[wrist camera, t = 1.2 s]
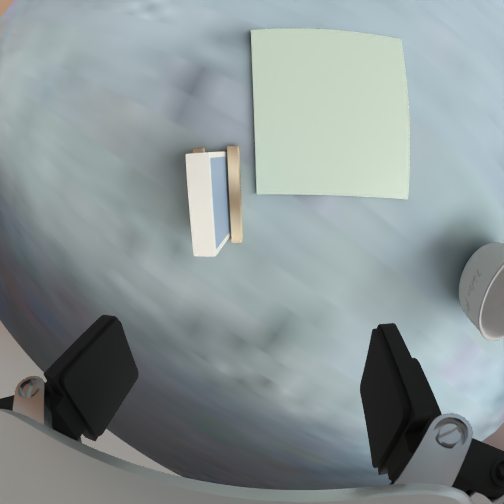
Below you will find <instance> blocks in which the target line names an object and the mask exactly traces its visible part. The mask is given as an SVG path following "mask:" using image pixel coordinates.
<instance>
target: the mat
mask: <svg viewBox="0 0 504 504" xmlns="http://www.w3.org/2000/svg"><path fill="white" fill-rule="evenodd" d="M251 46H252V72H253V99H254V127H255V157H256V189H257V194H304V195H341V196H364V197H382V198H397V199H408V189H409V167H410V124H409V103H408V89H407V79H406V70H405V62H404V54H403V48H402V41H401V39H397V38H392V37H387V36H381V35H375V34H368V33H360V32H352V31H342V30H329V29H305V28H285V29H260V30H251Z"/></svg>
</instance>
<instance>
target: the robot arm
mask: <svg viewBox="0 0 504 504" xmlns="http://www.w3.org/2000/svg"><path fill="white" fill-rule="evenodd" d="M44 376H45V377H46V379H47V382H46V383H45V382H44V381H43V379H42V378H40V377H38V376H30V377H27V378H25V379H23V380H22V381H21V382H20V383H19V384H18V385H17V387H16V390H15V395H13V396H10V397H5V398H2V399H0V504H504V451H502V450H500V449H497V448H495V447H492V446H490V445H488V444H485V443H482V442H480V441H478V440H476V439H473V438H472V435H473V431H472V427H471V425H470V423H469V422H468V421H467V420H466V419H465V418H464V417H462V416H460V415H458V414H453V413H449V414H443V415H442V414H441V411H440V409H439V406H438V404H437V402H436V399H435V397H434V394H433V392H432V390H431V388H430V385H429V383H428V381H427V379H426V376H425V374H424V372H423V370H422V368H421V365H420V363H419V362H418V360H417V359H416V358H412V357H411V355H410V353H409V351H408V349H407V347H406V345H405V342H404V340H403V338H402V336H401V334H400V332H399V330H398V328H397V326H396V325H395V324H394V323H391V324H379V325H378V327H377V329H373V330H372V335H371V340H370V345H369V350H368V354H367V359H366V363H365V368H364V372H363V376H362V380H361V384H360V393H361V398H362V404H363V409H364V414H365V420H366V426H367V432H368V438H369V444H370V451H371V458H372V465H373V467H374V468H377V467H378V472H379V475H381V474H387V473H388V476H389V479H390V480H391V482H390V484H389V485H382V486H372V487H360V488H349V489H335V490H270V489H256V488H245V487H236V486H229V485H222V484H215V483H209V482H204V481H198V480H193V479H189V478H184V477H179V476H175V475H171V474H167V473H164V472H160V471H156V470H153V469H149V468H146V467H143V466H140V465H136V464H133V463H130V462H127V461H125V460H122V459H119V458H116V457H114V456H111V455H108V454H106V453H103V452H100V451H98V450H96V449H94V448H91V447H89V446H87V445H84V444H82V442H81V437H80V436H81V435H82V434H83V435H84V436H85V437H86V438H88V439H91V440H93V441H96V439H97V438H98V436H100V435H102V434H103V432H104V431H105V429H106V428H107V426H108V424H109V423H110V421H111V419H112V418H113V416H114V415H115V413H116V411H117V410H118V408H119V407H120V405H121V404H122V402H123V400H124V399H125V397H126V396H127V394H128V393H129V391H130V389H131V388H132V386H133V385H134V383H135V382H136V380H137V378H138V369H137V367H136V364H135V361H134V359H133V356H132V353H131V351H130V348H129V345H128V342H127V339H126V336H125V333H124V330H123V327H122V324H121V322H120V321H119V320H118V319H117V317H115V316H109V315H102V316H101V317H100V318H99V319H98V320H96V321H95V322H94V323H93V324H92V325H91V326H90V327H89V328H88V329H87V330H86V331H85V332H84V333H83V334H82V335H81V336H80V337H79V338H78V339H77V340H76V341H75V342H74V343H73V344H72V345H71V346H70V347H69V348H68V349H67V350H66V351H65V352H64V353H63V354H62V355H61V356H60V357H59V358H58V359H57V360H56V361H55V362H54V364H53V365H52V366H51V367H50V368H49V369H48V370H47V371H46V372H45V373H44Z"/></svg>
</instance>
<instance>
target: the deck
mask: <svg viewBox="0 0 504 504" xmlns="http://www.w3.org/2000/svg"><path fill="white" fill-rule="evenodd" d="M186 171H187V186H188V199H189V211H190V222H191V233H192V243H193V252H194V256H210V257H215V256H216V255H217V254H218V252H219V251H220V249H221V248H222V247H223V245H224V244H225V243H226V241H227V240H228V238H229V237H230V236H231V229H230V210H229V191H228V169H227V151H224V152H204V153H192V154H186Z"/></svg>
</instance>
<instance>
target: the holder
mask: <svg viewBox="0 0 504 504" xmlns="http://www.w3.org/2000/svg"><path fill="white" fill-rule="evenodd" d="M204 152H205V148H198V149H193V153H204ZM227 158H228V180H229V201H230V220H231V238H232V243H241V242H242V240H243V233H242V210H241V186H240V161H239V146H227Z"/></svg>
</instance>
